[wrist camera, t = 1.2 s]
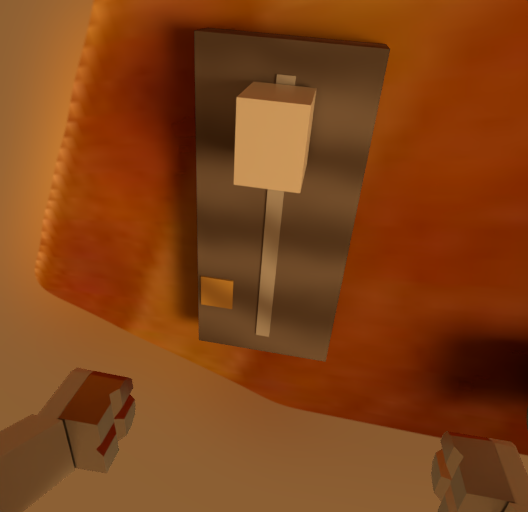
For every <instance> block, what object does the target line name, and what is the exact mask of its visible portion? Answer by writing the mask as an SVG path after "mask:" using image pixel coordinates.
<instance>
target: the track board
mask: <svg viewBox="0 0 528 512" xmlns="http://www.w3.org/2000/svg"><path fill="white" fill-rule="evenodd" d="M194 50H195V115H196V179H197V244H198V309H199V340H202V341H208V342H214V343H220V344H225V345H231V346H237V347H243V348H249V349H255V350H261V351H267V352H272V353H278V354H284V355H290V356H296V357H302V358H308V359H314V360H320V361H326V356H327V352H328V347H329V342H330V337H331V332H332V327H333V323H334V318H335V313H336V308H337V303H338V298H339V294H340V289H341V284H342V279H343V274H344V269H345V265H346V260H347V255H348V250H349V245H350V240H351V235H352V231H353V226H354V221H355V216H356V211H357V206H358V202H359V197H360V192H361V187H362V182H363V177H364V173H365V168H366V163H367V158H368V153H369V148H370V144H371V139H372V134H373V129H374V124H375V119H376V115H377V110H378V105H379V100H380V95H381V90H382V86H383V81H384V76H385V71H386V66H387V61H388V57H389V52H390V49H389V47H388V46H387V45H386V44H376V43H365V42H355V41H344V40H333V39H322V38H312V37H301V36H290V35H279V34H269V33H258V32H247V31H237V30H226V29H215V28H204V29H200V30H195V31H194ZM253 82H263V83H273V84H282V85H292V86H301V87H311V88H317V89H316V96H315V104H314V112H313V120H312V127H311V135H310V143H309V151H308V158H307V166H306V170H305V174H304V179H303V183H302V187H301V192H300V193H294V192H286V191H278V190H271V189H263V188H255V187H248V186H240V185H234V157H235V128H236V99H237V96H238V95H239V94H241V93H242V92H243V91H244V90H245V89H246V88H247V87H248V86H249V85H250V84H251V83H253Z"/></svg>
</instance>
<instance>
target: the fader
mask: <svg viewBox="0 0 528 512" xmlns="http://www.w3.org/2000/svg"><path fill="white" fill-rule="evenodd" d="M316 89H317V88H311V87H301V86H292V85H282V84H273V83H263V82H253V83H251V84H250V85H249V86H248V87H247V88H246V89H245V90H244V91H243V92H242V93H241V94H239V95H238V96H237V99H236V128H235V157H234V185H240V186H248V187H255V188H263V189H271V190H278V191H286V192H294V193H300V192H301V187H302V183H303V179H304V174H305V170H306V166H307V158H308V151H309V143H310V135H311V127H312V120H313V112H314V104H315V96H316Z"/></svg>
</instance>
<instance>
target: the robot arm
mask: <svg viewBox="0 0 528 512" xmlns="http://www.w3.org/2000/svg"><path fill="white" fill-rule="evenodd" d="M132 389H133V384H132V379H131V378H127V377H122V376H117V375H112V374H107V373H102V372H97V371H91V370H86V369H81V368H76V369H74V370H73V371H72V372H70V374H69V375H68V376H67V377H66V379H65V380H64V381H63V383H62V384H61V385H60V387H59V388H58V389H57V390H56V392H55V393H54V394H53V395H52V397H51V398H50V399H49V401H48V402H47V403H46V405H45V406H44V407H43V408H42V410H41V411H40V412H39V414H38V415H33V414H32V415H30V416H28V417H26V418H24V419H22V420H21V421H19V422H17V423H15V424H13V425H11V426H10V427H8V428H6V429H4V430H2V431H0V512H23V511H24V510H25V509H27V508H28V507H29V506H30V505H32V504H33V503H34V502H36V501H37V500H38V499H39V498H40V497H42V496H43V495H44V494H46V493H47V492H48V491H49V490H51V489H52V488H53V487H54V486H56V485H57V484H58V483H59V482H61V481H62V480H63V479H64V478H66V477H67V476H68V475H69V474H71V473H72V472H73V471H74V470H75V468H78V469H84V470H90V471H96V472H102V473H107V472H108V470H109V468H110V466H111V464H112V462H113V460H114V458H115V457H116V455H117V453H118V451H119V448H118V441H119V440H120V439H122V438H123V437H125V436H126V435H127V433H128V431H129V429H130V427H131V425H132V422H133V418H134V415H135V399H134V398H133V397H132V396H131V395H130V393H131V391H132ZM441 445H442V449H441V450H439V451H438V452H436V453H435V456H434V459H433V462H432V472H431V474H432V484H433V490H434V493H435V494H436V495H437V497H438V498H439V499H440V500H441V505H440V506H439V509H438V512H528V475H527V473H526V470H525V468H524V466H523V463H522V461H521V458H520V456H519V454H518V451H517V449H516V446H515V445H514V444H513V443H512V442H509V441H503V440H497V439H491V438H487V437H480V436H474V435H467V434H461V433H455V432H448V431H446V432H445V433H444V434H443V436H442V439H441Z"/></svg>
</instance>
